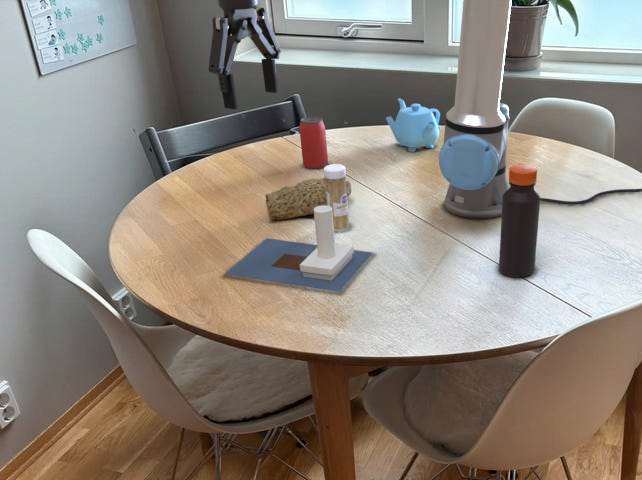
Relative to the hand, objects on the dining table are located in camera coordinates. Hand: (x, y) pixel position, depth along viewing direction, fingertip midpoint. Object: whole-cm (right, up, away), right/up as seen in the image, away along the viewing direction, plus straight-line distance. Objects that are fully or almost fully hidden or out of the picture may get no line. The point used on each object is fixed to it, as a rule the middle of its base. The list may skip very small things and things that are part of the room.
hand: (252, 100), depth 149 cm
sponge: (+10, -19, +17) cm, 27 cm away
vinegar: (+53, -36, -10) cm, 65 cm away
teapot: (+33, +6, +53) cm, 63 cm away
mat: (+11, -35, -7) cm, 37 cm away
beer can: (+7, -2, +42) cm, 42 cm away
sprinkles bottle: (+17, -25, +8) cm, 31 cm away
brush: (+17, -36, -8) cm, 40 cm away
